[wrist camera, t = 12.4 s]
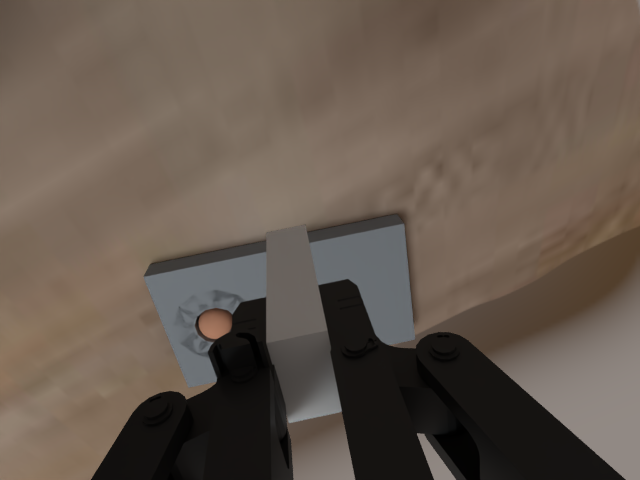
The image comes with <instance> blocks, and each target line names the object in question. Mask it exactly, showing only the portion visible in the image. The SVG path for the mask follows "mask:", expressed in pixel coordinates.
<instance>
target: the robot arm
mask: <svg viewBox="0 0 640 480" xmlns="http://www.w3.org/2000/svg"><path fill="white" fill-rule="evenodd" d="M208 355H209V358H210V361H211V363H212V366H213V369H214V372H215V374H216V377H217V382H216V384H215V385H213V386H212V387H211V388H209V389H208V390H206V391H204V392H202V393H200V394H198V395H196V396H194V397H191V398H189V399H187V400H186V399H185V396H183V395H182V394H180V393H179V392H173V391H168V392H162V393H159V394H156V395H154V396H152V397H150V398H148V399H147V400H146V401H144V402H143V403H141V404H140V405H139V406H138V407H137V409H136V410H135V411H134V412H133V413H132V415H131V416H130V418H129V420H128V421H127V423H126V424H125V426H124V428H123V429H122V431H121V432H120V434H119V436H118V437H117V439H116V440H115V442H114V444H113V445H112V447H111V448H110V450H109V452H108V453H107V455H106V456H105V458H104V460H103V461H102V463H101V464H100V466H99V468H98V469H97V471H96V472H95V474H94V476H93V477H92V479H91V480H293V466H292V450H291V439H290V436H289V432H288V429H287V420H286V419H287V418H288V421H289V423H292V422H297V421H301V420H306V419H311V418H315V417H319V416H324V415H328V414H334V413H338V412H342V414H343V419H344V425H345V429H346V434H347V439H348V445H349V450H350V455H351V460H352V465H353V469H354V475H355V480H434V479H433V476H432V473H431V471H430V468H429V465H428V463H427V460H426V457H425V455H424V452H423V449H422V447H421V444H420V441H419V439H418V436H417V433H423V434H425V436H426V438H427V440H428V441H429V442H430V444H431V445H432V447H433V448H434V449H435V451H436V452H437V454H438V455H439V456H440V458H441V459H442V460H443V462H444V463H445V464H446V466H447V467H448V469H449V470H450V471H451V473H452V474H453V475H454V477H455V478H456V480H625V479H624V478H623V477H622V476H621V475H620V474H619V473H617V472H616V471H615V470H614V469H613V468H612V467H611V466H610V465H608V464H607V463H606V462H605V461H604V460H603V459H602V458H600V457H599V456H598V455H597V454H596V453H595V452H594V451H593V450H591V449H590V448H589V447H588V446H587V445H586V444H585V443H583V442H582V441H581V440H580V439H579V438H578V437H577V436H575V435H574V434H573V433H572V432H571V431H570V430H569V429H568V428H567V427H565V426H564V425H563V424H562V423H561V422H560V421H558V420H557V419H556V418H555V417H554V416H553V415H552V414H551V413H550V412H548V411H547V410H546V409H545V408H544V407H543V406H542V405H540V404H539V403H538V402H537V401H536V400H535V399H534V398H532V397H531V396H530V395H529V394H528V393H527V392H526V391H524V390H523V389H522V388H521V387H520V386H519V385H518V384H517V383H516V382H514V381H513V380H512V379H511V378H510V377H509V376H508V375H506V374H505V373H504V372H503V371H502V370H501V369H500V368H499V367H497V366H496V365H495V364H494V363H493V362H492V361H491V360H490V359H488V358H487V357H486V356H485V355H484V354H483V353H482V352H481V351H479V350H478V349H477V348H476V347H475V346H474V345H472V344H471V343H470V342H469V341H468V340H466V339H465V338H463V337H461V336H460V335H457V334H453V333H449V332H438V333H434V334H429V335H427V336H426V337H424V338H422V339H421V340H420V341H419V343H418V344H417V345H416V349H413V348H397V347H393V346H389V345H387V344H385V343H383V342H382V341H381V340H380V339H379V338H378V337H377V336H376V334H375V332H374V329H373V326H372V324H371V321H370V318H369V316H368V313H367V310H366V307H365V305H364V302H363V299H362V297H361V294H360V291H359V289H358V286H357V285H356V284H354V283H353V282H352V281H350V280H349V279H345V280H340V281H335V282H330V283H326V284H321V285H318V283H317V278H316V273H315V268H314V263H313V259H312V254H311V249H310V244H309V240H308V235H307V230H306V225H301V226H296V227H291V228H286V229H281V230H276V231H271V232H267V233H266V297H264V298H259V299H254V300H249V301H245V302H241V303H240V304H239V305H238V307H237V308H236V310H235V311H234V312H233V318H232V327H231V332H229V333H226V334H225V335H223V336H221V337H219V338H218V339H217V340H216V341H215V342H214V343H213V344H212V345H211V346H210V348H209V351H208ZM286 414H287V418H286Z"/></svg>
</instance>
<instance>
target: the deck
mask: <svg viewBox="0 0 640 480" xmlns="http://www.w3.org/2000/svg"><path fill="white" fill-rule="evenodd" d="M307 235H308V240H309V244H310V249H311V254H312V259H313V263H314V268H315V273H316V278H317V283H318V285H321V284H326V283H330V282H335V281H340V280H345V279H349V280H350V281H352V282H353V283H354V284H356V285H357V286H358V289H359V291H360V294H361V297H362V299H363V302H364V305H365V307H366V310H367V313H368V316H369V318H370V321H371V324H372V326H373V329H374V332H375V334H376V336H377V337H378V338H379V339H380V340H381V341H382V342H383V343H385V344H387V345H391V344H396V343H400V342H405V341H410V340H414V339H415V334H414V323H413V313H412V302H411V291H410V281H409V270H408V259H407V249H406V238H405V228H404V223H403V221H402V220H401V219H400V217H399V216H398V215H397V214H395V215H390V216H385V217H380V218H375V219H370V220H365V221H360V222H355V223H351V224H346V225H341V226H336V227H331V228H326V229H321V230H316V231H311V232H307ZM144 280H145V282H146V284H147V287H148V289H149V292H150V294H151V297H152V299H153V302H154V304H155V306H156V309H157V311H158V314H159V316H160V319H161V321H162V324H163V326H164V329H165V331H166V333H167V336H168V338H169V341H170V343H171V346H172V348H173V351H174V353H175V355H176V358H177V360H178V363H179V365H180V368H181V370H182V373H183V375H184V378H185V380H186V382H187V385H188V387H194V386H198V385H203V384H208V383H212V382H217V377H216V374H215V372H214V369H213V366H212V363H211V361H210V358H209V355H208V351H209V348H210V346H211V345H212V344H213V343H214V342H215V341H216V340H217V339H211V338H208V337H206V336H205V335H204V334H203V333H202V332H201V331H200V328H199V317H200V316H199V315H200V314H201V313H202V312H204V311H205V310H208V309H213V308H220V309H224V310H228V311H229V312H230V313H232V314H233V312H234V311H235V310H236V308H237V307H238V305H239V304H240V303H241V302H245V301H249V300H254V299H259V298H264V297H266V241H262V242H257V243H253V244H248V245H243V246H238V247H233V248H228V249H223V250H218V251H213V252H209V253H204V254H199V255H194V256H189V257H184V258H179V259H174V260H169V261H164V262H160V263H155V264H150V265H149V267H148V269H147V271H146V273H145V275H144ZM229 332H231V330H230V331H229Z"/></svg>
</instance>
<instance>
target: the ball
mask: <svg viewBox="0 0 640 480" xmlns="http://www.w3.org/2000/svg"><path fill="white" fill-rule="evenodd" d="M231 327H232V315H231V313H230V312H229V311H228V310H224V309H220V308H213V309H208V310H205V311H204V312H202V313H201V315H200V317H199V328H200V331H201V332H202V333H203V334H204V335H205V336H206V337H208V338H211V339H218V338H219V337H221V336H223V335H225V334H226V333H229V331H230V330H231Z"/></svg>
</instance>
